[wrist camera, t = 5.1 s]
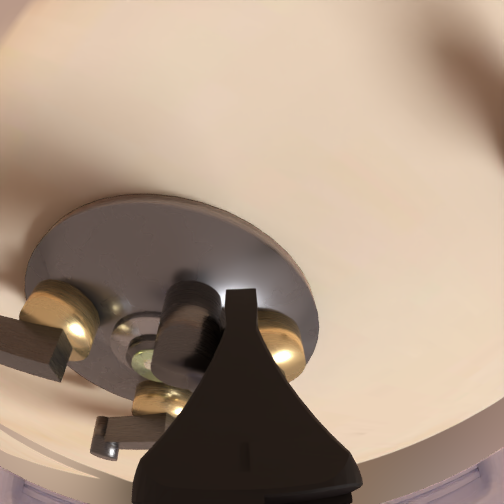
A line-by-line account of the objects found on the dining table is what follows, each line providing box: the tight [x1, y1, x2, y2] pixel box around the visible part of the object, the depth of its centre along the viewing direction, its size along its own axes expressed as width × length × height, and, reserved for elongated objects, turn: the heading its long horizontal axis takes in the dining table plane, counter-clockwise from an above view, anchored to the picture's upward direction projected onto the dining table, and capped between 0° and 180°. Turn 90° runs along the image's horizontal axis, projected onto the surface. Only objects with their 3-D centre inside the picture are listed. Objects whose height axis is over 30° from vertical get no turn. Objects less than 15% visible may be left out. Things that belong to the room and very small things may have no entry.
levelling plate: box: [25, 194, 319, 401], centre depth 16 cm, size 18×18×3 cm
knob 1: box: [0, 279, 100, 382], centre depth 12 cm, size 9×4×5 cm, turn 84°
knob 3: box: [150, 281, 306, 389], centre depth 13 cm, size 9×4×5 cm, turn 29°
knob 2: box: [90, 380, 193, 461], centre depth 18 cm, size 9×4×5 cm, turn 114°
